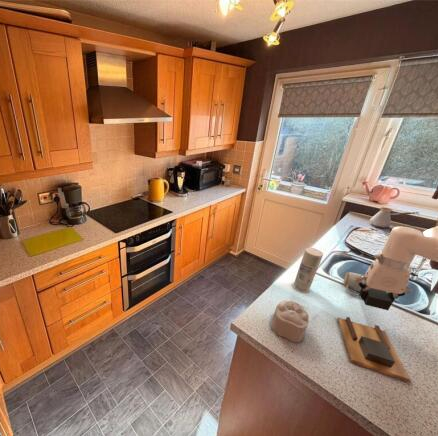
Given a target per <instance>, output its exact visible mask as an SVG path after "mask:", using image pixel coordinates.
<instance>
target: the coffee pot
mask: <svg viewBox="0 0 438 436" xmlns="http://www.w3.org/2000/svg"><path fill="white" fill-rule="evenodd" d="M391 212H393V209H392V208H389V207H381V206H380V208H379V211H378V212H376V213H375V214H374V215H373V216H372V217H371V218H370V219H369V222H370V224H371V225H372V226H373V227H377V228H383V229H385V228H388V227H391V226H392V218H391V216H396V215H415V214H417V215H418V216H420V212H417V211H416V212H395V213H391Z"/></svg>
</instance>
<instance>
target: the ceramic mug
mask: <svg viewBox="0 0 438 436" xmlns="http://www.w3.org/2000/svg"><path fill="white" fill-rule="evenodd" d="M361 275H362V274H360V273H355V272H352V271H351V272H350V271H347V272H346V273H345V275H344V277H343V281H342V284H343V286H344V287H345V288H346V292H347V293H348V294H350V295H351V296H353V297H360V296H359V293H354V292H352V291H351V290H354V291H357V292H360V290H361V287H360V286H359V284H358V283H357V282H356V281H355V279H354V278H355V277H358V276H361ZM361 282H362V283H365V282H366V281H365V280H362V281H361ZM350 289H351V290H350Z"/></svg>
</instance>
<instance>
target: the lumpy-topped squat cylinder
mask: <svg viewBox="0 0 438 436" xmlns="http://www.w3.org/2000/svg"><path fill="white" fill-rule="evenodd" d="M309 322H310V319H309V314H308V312H307V311H306V309H305V308H304V307H303V306H302V305H301V304H299V303H298V302H296V301H292V300H283V301H280V302H278V303H277V304H276V307H275V311H274V314H273V317H272V321H271V330H272V331H273V332H274V333H275V334H276V335H278V336H281V337H283V338H286V339H288V340H289V341H291V342H293V343H300V342H301V341H302V340H303V337H304V335H305V332H306V330H307V328H308V325H309Z"/></svg>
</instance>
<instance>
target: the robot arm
mask: <svg viewBox="0 0 438 436" xmlns="http://www.w3.org/2000/svg"><path fill="white" fill-rule="evenodd" d="M415 256H419V257H421V258H424V259H427V260H429V261H432V262H436V263H438V226H437V225H436V226H433V227H431V228H429V229H427V230H424V231H423V232H422V231H421V230H419V229H416V228H413V227H409V226H395V227H393V228H392V229H391V231H390V233H389V235H388V236H387V239H386V242H385V244H384V245H383V248H382V249H381V252H379V254H374V255H373V259H375V260H374V261H373V262H372V263H371V264H370V265H369V267H368V269H367V270H366V272H365V273H364V274H360V275H361V276H358V277H355V278H354V279H355V281H356V282H357V283H358V284H359V286H360V287H361V290H360V291H358V292H359V293H358V294H359V297H360V299H361V301H363V300H365V298H366V296H367V294H368V290H369V289H371V288H373V289H377V290H382V291H386V293H387V294H388V296H389V297H390V299H391V300H392V302H393V303H394V302H395V300H396V299H398V298H399V297H403V296H405V295H409V294H412V293H413V290H412V289H411V287H409V286H408V283H409V281H410V277H411V273H412V269H411V268H410V266H411V264H412V262H413V261H414V260H415ZM362 280H365V281H366V282H365V283H362V282H361V281H362Z"/></svg>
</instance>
